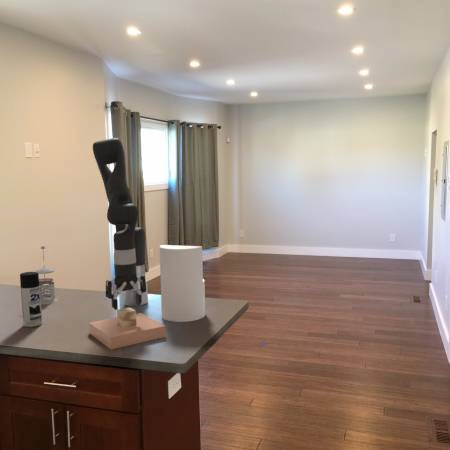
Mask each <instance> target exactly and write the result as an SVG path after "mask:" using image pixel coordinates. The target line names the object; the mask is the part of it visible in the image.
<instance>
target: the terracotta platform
mask: <svg viewBox="0 0 450 450" xmlns="http://www.w3.org/2000/svg"><path fill="white" fill-rule="evenodd" d="M88 325H89V326H88V329H89V330H88V331H89V334H90V335H91V336H92V337H94V338H95V339H96V340H97V341H99V342H100V343H102V344H103V345H105V346H106V347H107V348H108V349H110V350H115V349H118V348H124V347H129V346H133V345H136V344H141V343H145V342H149V341H150V340H151V341H154V339H155V340H158V338H159V339H162V338H163V337H164V338H166V337H167V336H166V335H167V333H166V325H164V324H162V323H161V322H159V321H157V320H156V319H154V318H152V317H149V316H148V315H146V314H145V313H141V312H138V313H137V312H136V325H132V326H127V327H122V326H120V325H119V324H117V316H116V317H112V318H105V319H100V320H95V321H90V322H88ZM164 338H163V339H164Z"/></svg>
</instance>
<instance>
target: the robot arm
mask: <svg viewBox="0 0 450 450" xmlns="http://www.w3.org/2000/svg"><path fill="white" fill-rule="evenodd" d="M92 151H93V156H94V159H95V162H96V165H97V167H98V171H99V173H100V175H101V179H102V182H103V186H104V190H105V194H106V197H107V201H108V206H107V207H108V208H107V210H106V211H107V212H106V217H107V218H106V219H107V221H108V222H109V224H111V225H113V226H115V232H114V234H113V273H114V279H112V280H109V279H106V280H105V297H106V298H108V299H111V307H112V308H113V310H114V311H117V310H119V308H118V306H119V305H118V297H119V296H120V294H121V293H122V292H123V293H124V306H128V307H138V306H143V305H146V304H148V303H149V294H148V291H149V290H148V281H147V280H146V262H145V261H146V233H145V230H144V228H143V227H137V223H138V219H139V215H140V214H139V209H138V206H137V205H136V204H134V203H133V200H132V199H133V198H132V195H131V191H130V188H129V186H128V183H127V182H128V181H127V172H126V171H127V169H126V167H127V165H126V155H125V150H124V146H123V142H122V141H121V139H120V138H119V137H113V138H108V139H107V138H106V139H102V140H97V141H94V142H93V143H92ZM111 164H115V166H114V168H113V170H111V169H110V168H109V166H108V165H111ZM114 285H115V287H114ZM113 287H114V289H113ZM112 290H113V291H112Z"/></svg>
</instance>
